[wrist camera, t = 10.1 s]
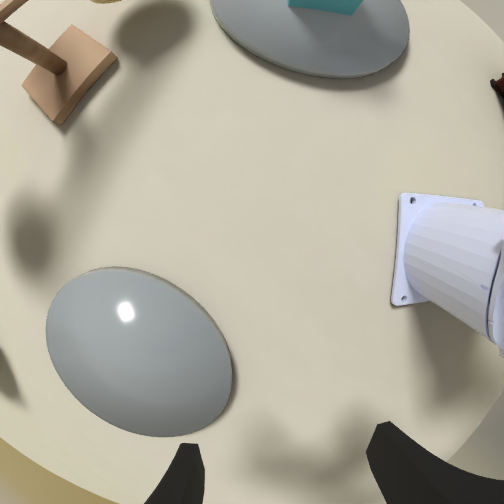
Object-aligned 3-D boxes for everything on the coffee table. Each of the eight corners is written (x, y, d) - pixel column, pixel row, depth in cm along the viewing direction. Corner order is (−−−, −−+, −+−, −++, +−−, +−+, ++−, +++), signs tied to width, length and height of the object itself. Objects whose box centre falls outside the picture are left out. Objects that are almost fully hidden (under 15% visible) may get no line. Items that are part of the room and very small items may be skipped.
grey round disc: (225, 263, 17) (224, 269, 16) (236, 430, 20) (237, 440, 19) (35, 267, 16) (26, 271, 15) (84, 415, 20) (79, 423, 18)
